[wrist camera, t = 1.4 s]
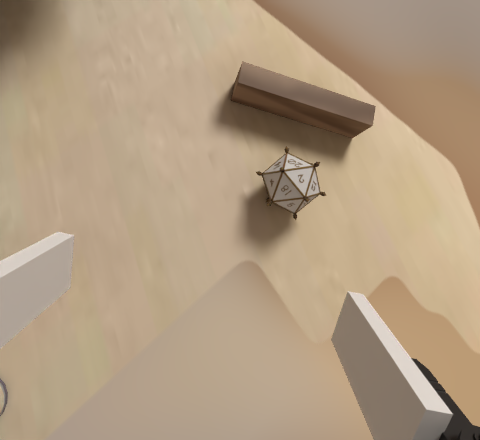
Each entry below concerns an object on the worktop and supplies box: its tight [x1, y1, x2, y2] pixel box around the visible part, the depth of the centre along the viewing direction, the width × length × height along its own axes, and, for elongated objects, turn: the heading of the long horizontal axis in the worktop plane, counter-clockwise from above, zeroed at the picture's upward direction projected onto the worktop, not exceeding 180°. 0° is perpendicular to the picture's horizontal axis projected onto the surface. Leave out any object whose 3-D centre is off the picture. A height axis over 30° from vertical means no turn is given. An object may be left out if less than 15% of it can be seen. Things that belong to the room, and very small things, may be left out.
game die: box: [256, 146, 326, 220], centre depth 41 cm, size 9×8×10 cm
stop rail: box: [231, 62, 375, 138], centre depth 45 cm, size 3×20×5 cm, turn 78°
